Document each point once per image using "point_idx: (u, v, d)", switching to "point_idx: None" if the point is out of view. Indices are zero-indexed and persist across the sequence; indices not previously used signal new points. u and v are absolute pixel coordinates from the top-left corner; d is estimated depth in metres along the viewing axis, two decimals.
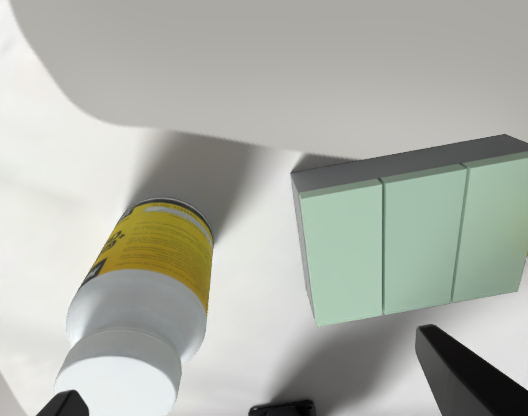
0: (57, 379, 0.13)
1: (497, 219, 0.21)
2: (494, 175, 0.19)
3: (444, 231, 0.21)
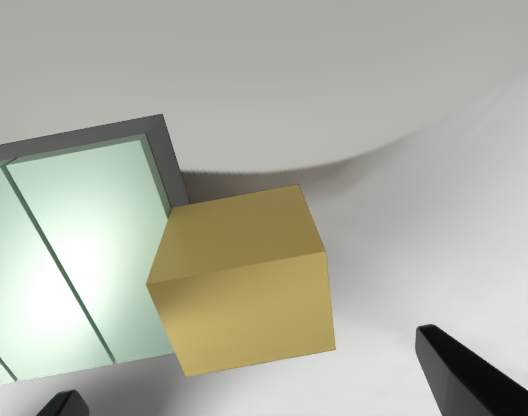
0: None
1: (110, 246, 0.13)
2: (56, 177, 0.12)
3: (30, 265, 0.13)
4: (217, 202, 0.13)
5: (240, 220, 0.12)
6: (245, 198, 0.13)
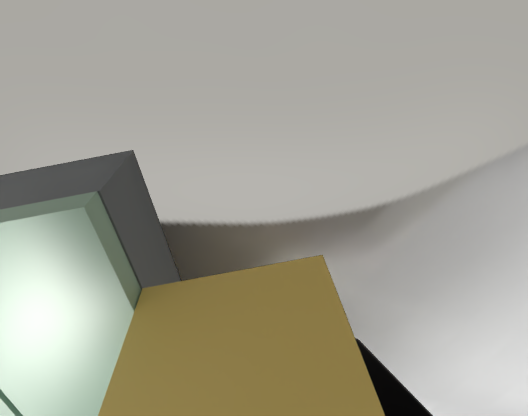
0: None
1: (52, 346, 0.09)
2: None
3: None
4: (206, 282, 0.09)
5: (239, 326, 0.08)
6: (247, 279, 0.09)
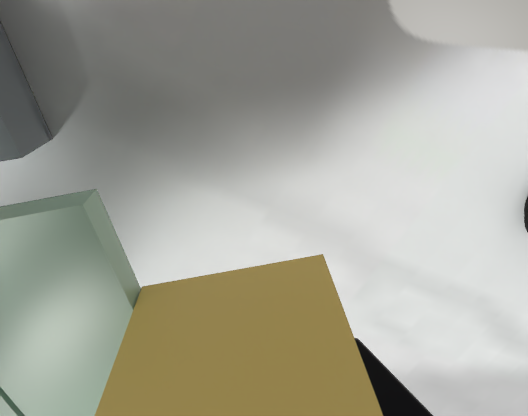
0: None
1: (51, 344, 0.09)
2: None
3: None
4: (205, 281, 0.09)
5: (238, 325, 0.08)
6: (247, 278, 0.09)
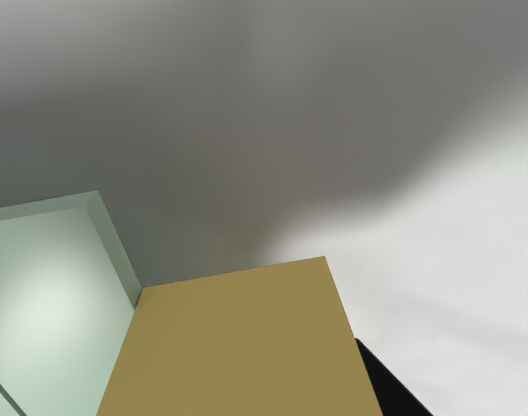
0: None
1: (53, 344, 0.09)
2: None
3: None
4: (207, 283, 0.09)
5: (239, 327, 0.08)
6: (248, 280, 0.09)
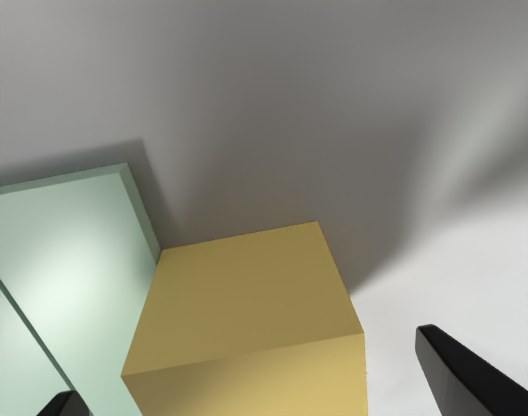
0: None
1: (86, 297, 0.11)
2: (15, 218, 0.09)
3: None
4: (217, 244, 0.11)
5: (246, 273, 0.09)
6: (253, 240, 0.10)
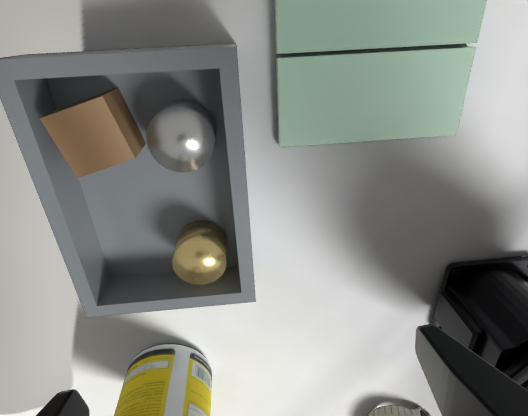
0: None
1: None
2: None
3: None
4: None
5: None
6: None
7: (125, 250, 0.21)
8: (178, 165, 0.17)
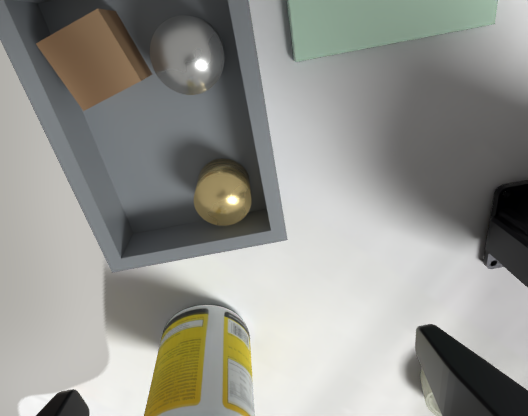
0: None
1: None
2: None
3: None
4: None
5: None
6: None
7: (145, 201, 0.20)
8: (188, 86, 0.16)
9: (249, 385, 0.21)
